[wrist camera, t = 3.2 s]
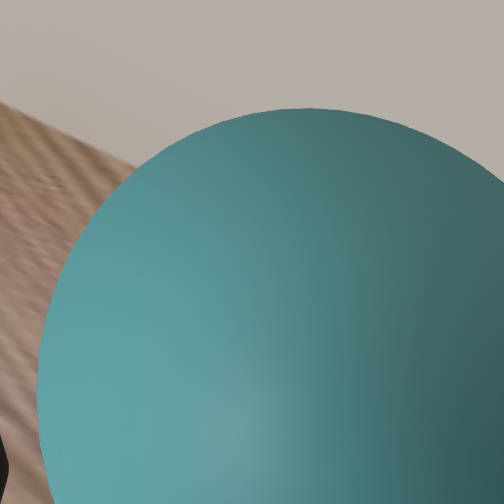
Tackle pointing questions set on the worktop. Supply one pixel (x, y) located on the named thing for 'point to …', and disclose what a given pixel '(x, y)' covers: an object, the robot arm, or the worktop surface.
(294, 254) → the teal tall cylinder
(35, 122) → the worktop surface
